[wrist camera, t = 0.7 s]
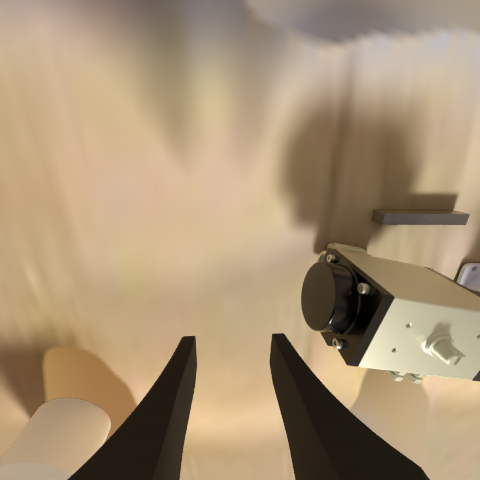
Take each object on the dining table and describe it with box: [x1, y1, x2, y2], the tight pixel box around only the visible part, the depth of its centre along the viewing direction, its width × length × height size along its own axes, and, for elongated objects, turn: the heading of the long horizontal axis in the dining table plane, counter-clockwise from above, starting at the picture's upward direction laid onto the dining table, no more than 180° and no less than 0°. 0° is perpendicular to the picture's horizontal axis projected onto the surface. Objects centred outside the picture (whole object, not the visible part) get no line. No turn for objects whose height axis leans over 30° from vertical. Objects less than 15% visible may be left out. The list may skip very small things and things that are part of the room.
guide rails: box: [372, 210, 470, 225], centre depth 22 cm, size 8×11×2 cm
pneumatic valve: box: [301, 242, 480, 383], centre depth 17 cm, size 6×12×12 cm, turn 77°
